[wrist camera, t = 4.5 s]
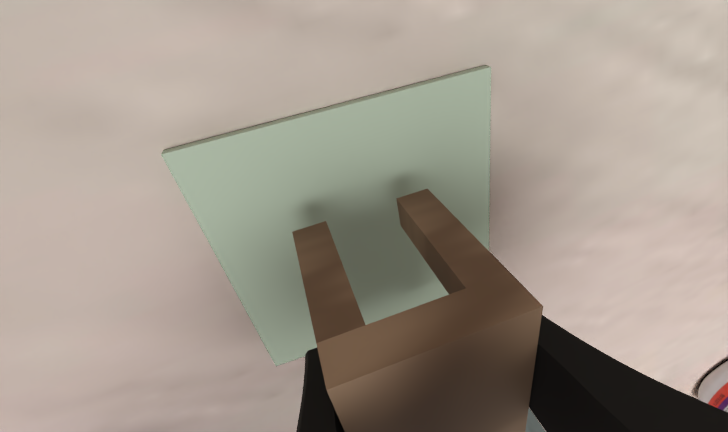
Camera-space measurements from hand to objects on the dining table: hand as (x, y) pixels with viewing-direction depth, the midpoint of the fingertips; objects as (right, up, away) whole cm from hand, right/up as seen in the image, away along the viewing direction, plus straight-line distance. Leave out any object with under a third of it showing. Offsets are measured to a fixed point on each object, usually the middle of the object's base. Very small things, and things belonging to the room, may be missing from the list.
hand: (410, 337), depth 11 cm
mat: (-2, +3, +5) cm, 6 cm away
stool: (-1, +1, +3) cm, 3 cm away
